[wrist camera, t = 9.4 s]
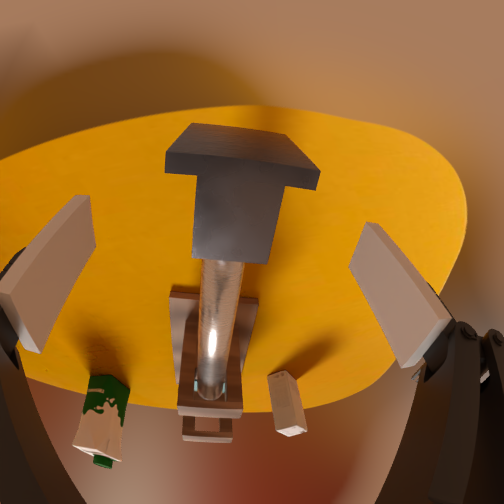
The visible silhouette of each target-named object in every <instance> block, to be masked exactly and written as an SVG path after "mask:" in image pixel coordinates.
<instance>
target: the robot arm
mask: <svg viewBox="0 0 504 504" xmlns="http://www.w3.org/2000/svg"><path fill="white" fill-rule="evenodd" d="M95 247H96V243H95V237H94V230H93V223H92V214H91V206H90V195H75V196H74V197H73V198H72V199H71V200H70V201H69V202H68V203H67V204H66V205H65V206H64V207H63V208H62V209H61V210H60V211H59V212H58V213H57V214H56V215H55V216H54V217H53V218H52V219H51V220H50V221H49V223H48V224H47V225H46V226H45V227H44V228H43V229H42V230H41V231H40V232H39V234H38V235H37V236H36V237H35V238H34V239H33V240H32V242H31V243H30V244H29V245H28V246H27V247H24V248H23V249H22V250H20V251H19V252H18V253H16V254H15V255H14V256H13V258H12V259H11V260H10V261H9V264H7V265H6V266H5V268H4V269H3V271H2V272H1V273H0V502H1V504H86V502H85V500H84V499H83V498H82V496H81V494H80V493H79V491H78V490H77V488H76V487H75V485H74V483H73V482H72V480H71V478H70V477H69V475H68V473H67V472H66V470H65V468H64V466H63V465H62V463H61V461H60V459H59V457H58V455H57V453H56V451H55V449H54V447H53V445H52V443H51V441H50V439H49V437H48V435H47V432H46V430H45V428H44V426H43V423H42V421H41V419H40V416H39V413H38V411H37V409H36V406H35V403H34V400H33V398H32V395H31V392H30V389H29V386H28V383H27V380H26V376H25V373H24V370H23V366H22V362H21V359H20V355H19V352H18V350H17V348H16V344H17V341H18V339H19V340H20V342H21V343H22V345H23V346H24V348H25V349H26V350H29V351H32V352H36V353H39V354H41V353H42V350H43V348H44V345H45V343H46V341H47V339H48V336H49V334H50V332H51V330H52V327H53V325H54V323H55V321H56V319H57V317H58V315H59V313H60V311H61V309H62V307H63V305H64V303H65V301H66V299H67V297H68V295H69V293H70V291H71V289H72V287H73V285H74V284H75V282H76V280H77V278H78V276H79V275H80V273H81V271H82V269H83V268H84V266H85V264H86V262H87V261H88V259H89V257H90V256H91V254H92V252H93V251H94V249H95ZM349 269H350V270H351V272H352V274H353V276H354V277H355V279H356V281H357V283H358V285H359V286H360V288H361V290H362V292H363V294H364V296H365V297H366V299H367V301H368V303H369V305H370V307H371V309H372V311H373V312H374V314H375V316H376V318H377V320H378V322H379V324H380V326H381V328H382V330H383V332H384V334H385V336H386V338H387V340H388V342H389V344H390V346H391V348H392V350H393V352H394V354H395V357H396V359H397V361H398V363H399V365H400V367H401V368H405V367H410V366H415V364H416V363H417V362H418V361H419V360H420V359H421V357H422V356H423V357H424V359H425V361H426V362H425V363H424V364H423V365H422V366H421V367H420V369H419V370H418V371H417V372H416V373H415V374H414V375H413V376H412V378H411V379H412V380H414V379H415V378H416V377H417V376H418V375H419V379H418V380H417V381H416V382H418V384H417V388H416V392H415V396H414V400H413V404H412V407H411V411H410V415H409V418H408V421H407V424H406V428H405V431H404V434H403V437H402V440H401V443H400V445H399V448H398V451H397V454H396V456H395V459H394V461H393V464H392V467H391V469H390V471H389V474H388V476H387V478H386V481H385V483H384V485H383V487H382V490H381V492H380V494H379V496H378V498H377V500H376V502H375V504H504V337H503V335H502V334H501V333H500V332H499V331H497V330H494V329H490V330H489V331H488V332H487V333H486V335H485V336H484V337H481V336H478V335H477V333H476V331H475V330H474V329H473V328H472V327H471V326H470V325H469V324H467V323H465V322H461V321H460V322H456V321H455V319H454V318H453V316H452V315H451V313H450V312H449V310H448V309H447V307H446V306H445V305H444V303H443V302H442V301H441V300H440V298H439V296H438V295H437V294H435V293H436V292H435V291H434V290H433V288H432V287H431V286H430V284H429V283H427V282H426V281H425V280H424V278H423V277H422V276H421V274H420V273H419V272H418V271H417V269H416V268H415V267H414V266H413V264H412V263H411V262H410V261H409V259H408V258H407V257H406V256H405V254H404V253H403V252H402V251H401V250H400V248H399V247H398V246H397V245H396V244H395V243H394V241H393V240H392V239H391V238H390V237H389V236H388V234H387V233H386V232H385V231H384V230H383V229H382V228H381V226H380V225H379V224H376V223H370V222H366V223H365V226H364V228H363V231H362V234H361V236H360V239H359V242H358V244H357V247H356V249H355V252H354V254H353V257H352V259H351V262H350V264H349ZM488 370H489V374H490V376H489V377H488V378H487V379H486V380H485V381H484V382H483V383H480V378H481V377H482V376H483V375H484V374H485V373H486V372H487V371H488Z"/></svg>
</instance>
